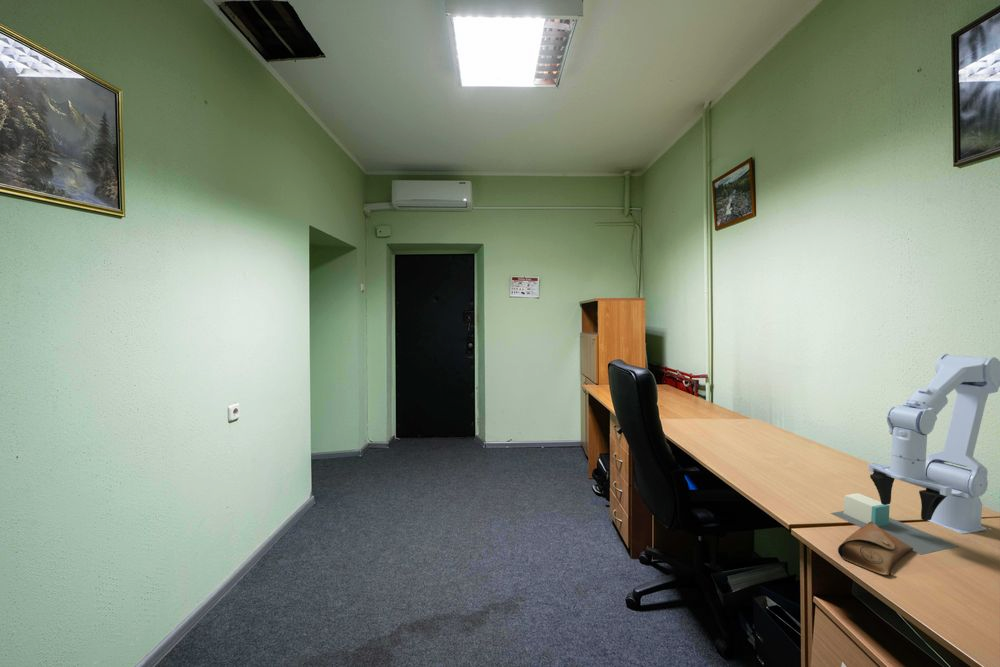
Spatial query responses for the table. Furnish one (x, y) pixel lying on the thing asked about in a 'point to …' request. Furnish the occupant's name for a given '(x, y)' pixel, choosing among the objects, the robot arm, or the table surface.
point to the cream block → (866, 509)
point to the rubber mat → (906, 535)
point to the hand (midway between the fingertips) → (905, 511)
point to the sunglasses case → (873, 549)
